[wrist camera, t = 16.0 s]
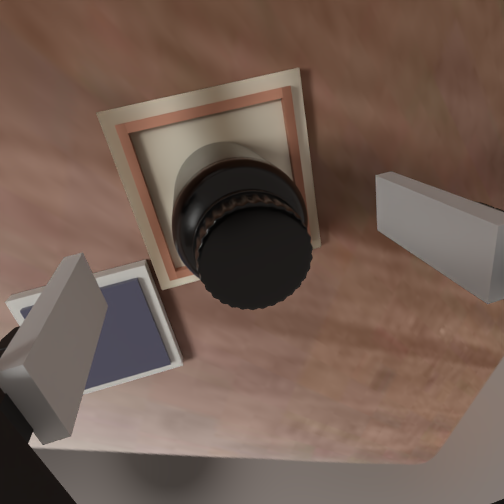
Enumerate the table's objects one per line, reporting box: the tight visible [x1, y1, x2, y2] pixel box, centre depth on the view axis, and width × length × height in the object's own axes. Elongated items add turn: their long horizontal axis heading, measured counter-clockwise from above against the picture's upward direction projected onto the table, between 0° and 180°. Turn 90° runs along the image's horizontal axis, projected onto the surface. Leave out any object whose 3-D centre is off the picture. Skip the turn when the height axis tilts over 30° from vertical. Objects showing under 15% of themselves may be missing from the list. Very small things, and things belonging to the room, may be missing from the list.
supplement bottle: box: [172, 142, 313, 310], centre depth 19 cm, size 7×7×12 cm
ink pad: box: [5, 260, 183, 395], centre depth 28 cm, size 10×10×1 cm
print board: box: [96, 68, 321, 290], centre depth 25 cm, size 13×13×1 cm
